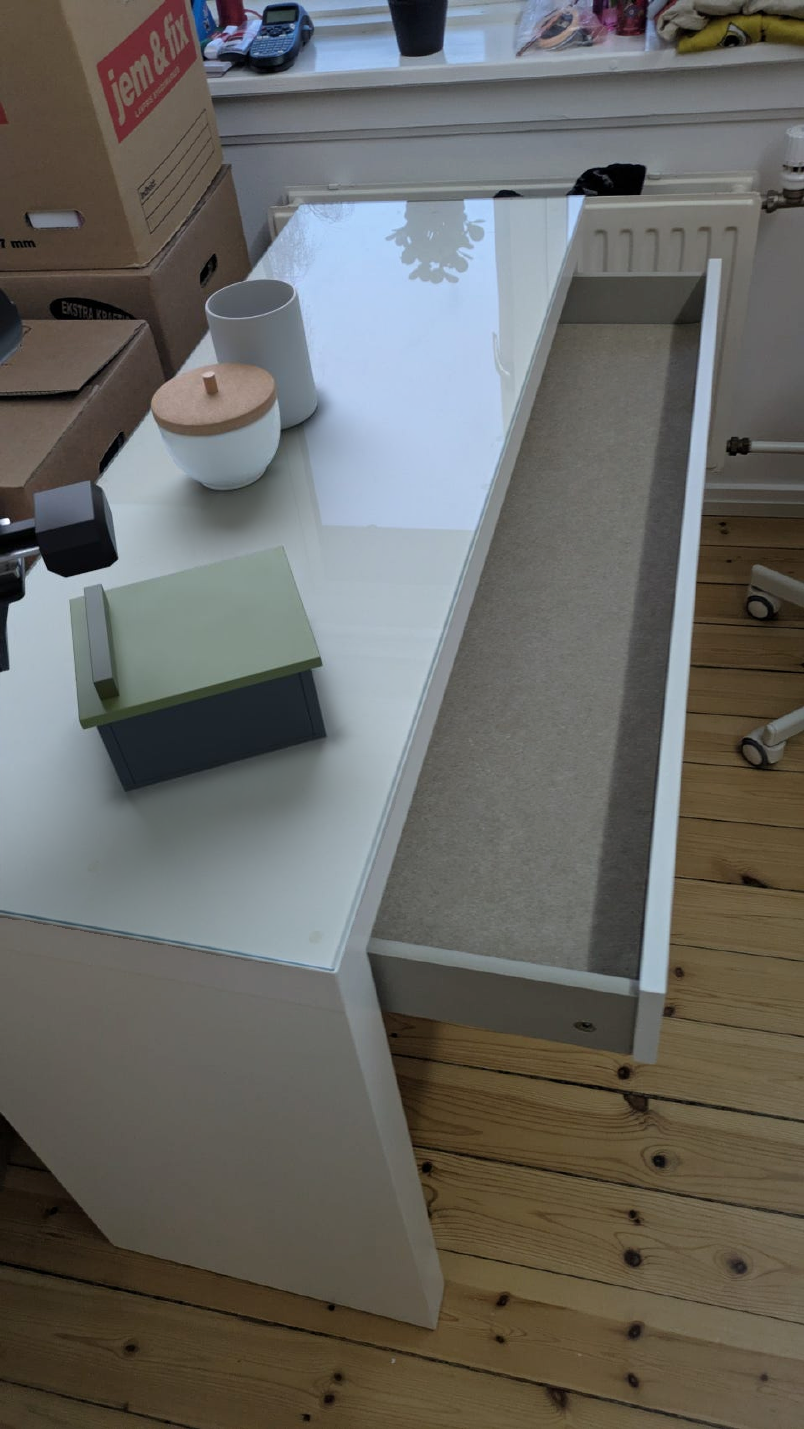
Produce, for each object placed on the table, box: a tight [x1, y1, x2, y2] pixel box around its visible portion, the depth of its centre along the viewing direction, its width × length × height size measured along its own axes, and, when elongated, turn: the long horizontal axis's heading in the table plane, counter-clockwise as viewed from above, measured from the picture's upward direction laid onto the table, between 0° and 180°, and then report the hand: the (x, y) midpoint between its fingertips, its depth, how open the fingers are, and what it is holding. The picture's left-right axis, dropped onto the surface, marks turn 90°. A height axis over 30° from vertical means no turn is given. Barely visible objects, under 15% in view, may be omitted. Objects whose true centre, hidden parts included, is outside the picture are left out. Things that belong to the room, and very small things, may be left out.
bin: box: [95, 669, 328, 793], centre depth 74 cm, size 14×12×6 cm
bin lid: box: [68, 545, 323, 730], centre depth 71 cm, size 15×13×2 cm
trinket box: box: [150, 363, 282, 491], centre depth 95 cm, size 11×11×9 cm
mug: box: [204, 278, 319, 431], centre depth 102 cm, size 12×8×11 cm
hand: (3, 667), depth 69 cm, fingers closed
